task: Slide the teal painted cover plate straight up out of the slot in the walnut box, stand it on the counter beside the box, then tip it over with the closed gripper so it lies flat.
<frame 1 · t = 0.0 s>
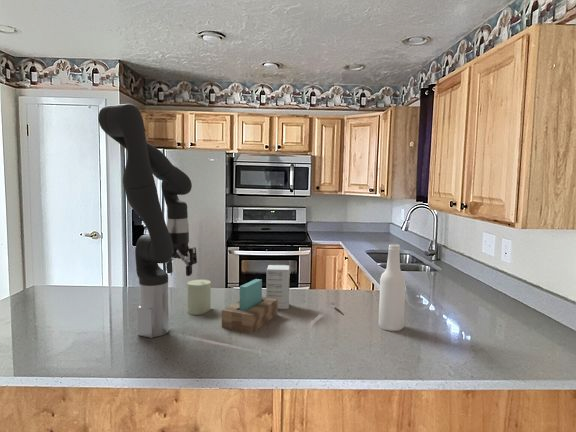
hand: (179, 274, 146), 17 cm above the countertop, tool pointing down, fingers open, 8 cm apart
cover plate: (250, 320, 145), point 1 cm above the countertop, touching slot box
supplement box: (277, 307, 164), on the countertop
fork: (335, 310, 164), on the countertop
can: (199, 311, 158), on the countertop
alcohol: (390, 327, 144), on the countertop
slot box: (250, 323, 145), on the countertop
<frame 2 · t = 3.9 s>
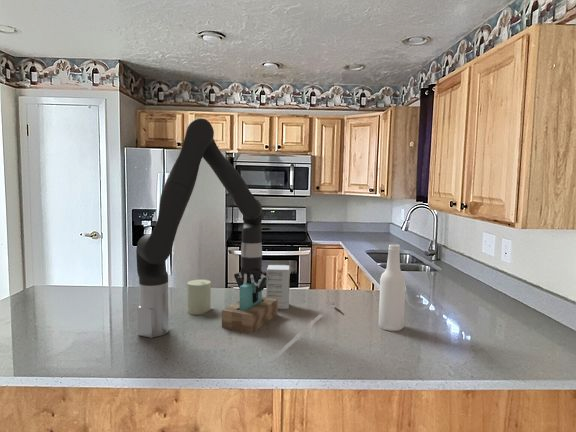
hand: (251, 301, 145), 8 cm above the countertop, tool pointing down, fingers closed on cover plate, 2 cm apart
cover plate: (250, 320, 145), point 1 cm above the countertop, touching gripper, slot box
everything else where it was.
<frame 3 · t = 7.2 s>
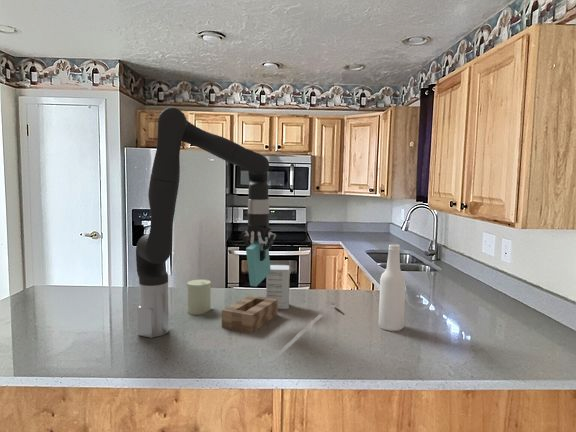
hand: (258, 260, 143), 24 cm above the countertop, tool pointing down, fingers closed on cover plate, 2 cm apart
cover plate: (260, 278, 145), point 16 cm above the countertop, tilted 13°, touching gripper
everything else where it was.
when the fingers open (9 cm above the countertop, at t = 11.0 s): cover plate drops 3 cm, on the countertop.
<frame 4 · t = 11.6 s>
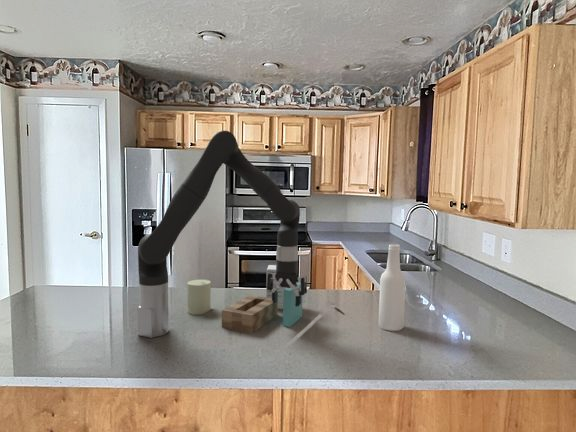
hand: (286, 304, 139), 9 cm above the countertop, tool pointing down, fingers open, 8 cm apart
cover plate: (292, 323, 146), on the countertop
everything else where it was.
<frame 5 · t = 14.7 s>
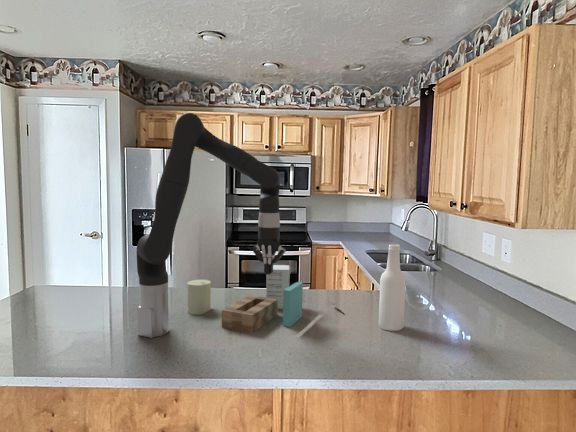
hand: (268, 273, 141), 19 cm above the countertop, tool pointing down, fingers closed
nothing on the countertop moved.
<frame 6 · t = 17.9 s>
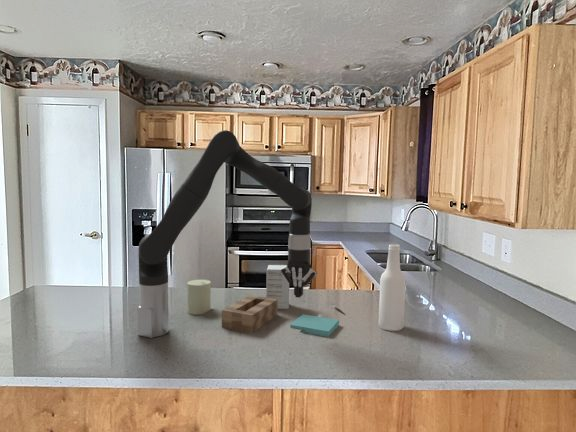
hand: (298, 296, 137), 12 cm above the countertop, tool pointing down, fingers closed
cover plate: (296, 322, 145), point 1 cm above the countertop, tilted 90°
everything else where it was.
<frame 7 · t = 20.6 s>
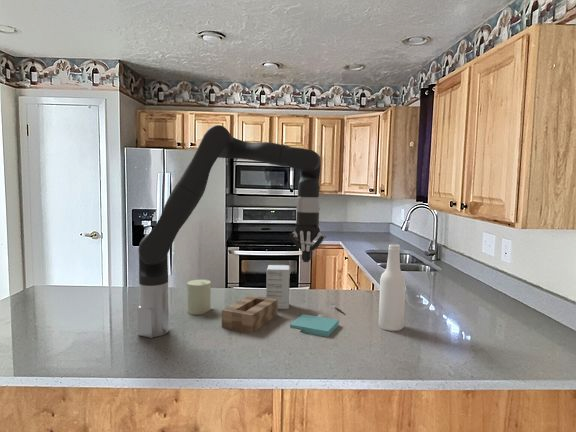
hand: (306, 261, 135), 25 cm above the countertop, tool pointing down, fingers closed
nothing on the countertop moved.
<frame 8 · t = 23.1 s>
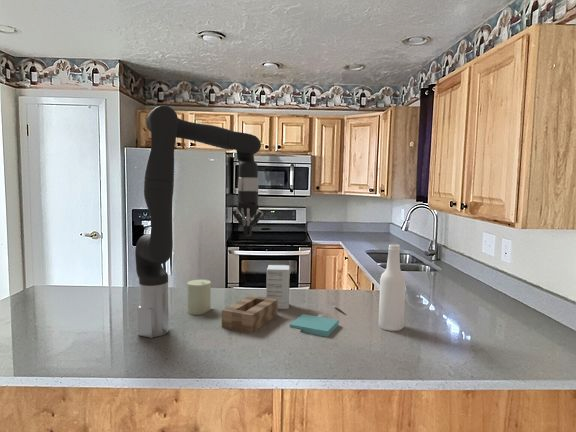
hand: (247, 235, 150), 31 cm above the countertop, tool pointing down, fingers closed
nothing on the countertop moved.
at the end: cover plate tilted 90°; cover plate inside the target area (6.7 cm from its centre), point 0.7 cm above the countertop; cover plate touching countertop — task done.
